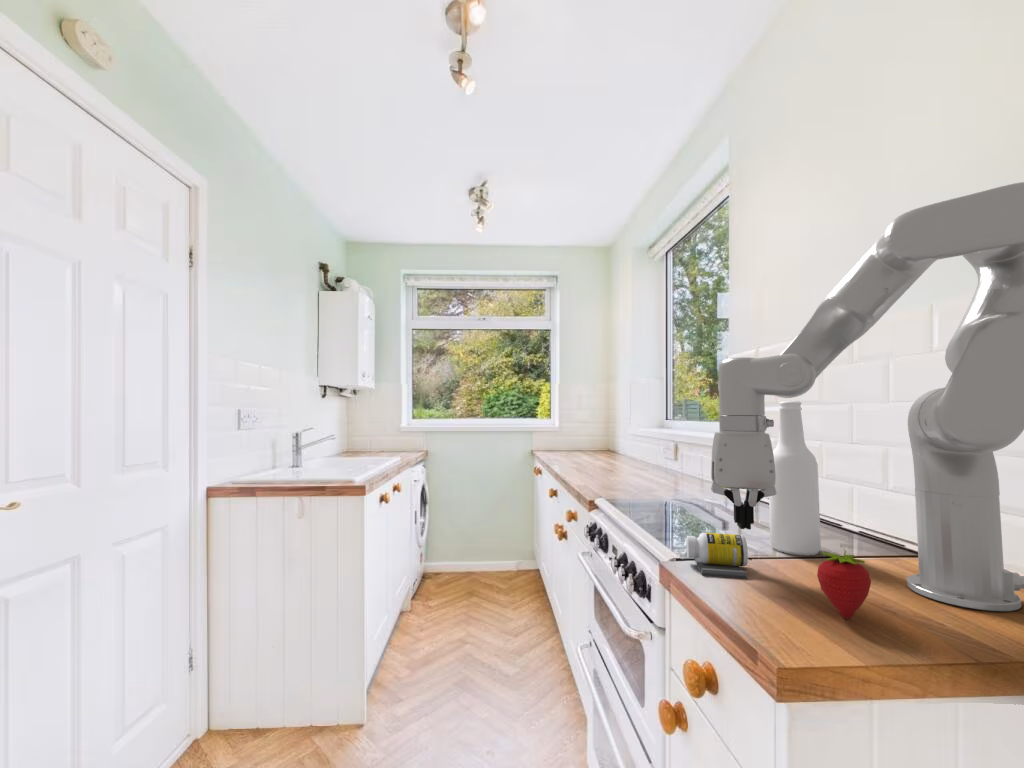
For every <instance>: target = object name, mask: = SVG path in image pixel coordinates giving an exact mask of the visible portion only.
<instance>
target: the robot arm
mask: <svg viewBox="0 0 1024 768" xmlns="http://www.w3.org/2000/svg"><path fill="white" fill-rule="evenodd" d="M961 256H962V257H963V258H964V259H965V260H966V261H967V262H968V263H969V264H970V265H971V267H972V268H973V269H974V271H975V273H976V274H977V275H976V276H977V285H976V290H975V291H974V294H973V297H972V298H971V302H970V304H969V305H968V308H967V309H966V312H965V313H964V316H963V317H962V319H961V321H960V322H959V325H958V327H957V329H956V330H955V332H954V333H953V335H952V337H951V339H950V341H949V342H948V344H947V346H946V349H945V355H944V359H945V361H944V362H945V364H946V366H947V368H948V370H949V371H950V372H951V373H952V374H950V378H949V379H948V381H947V383H946V384H945V386H944V387H940V388H935V389H932V390H929V391H927V392H925V393H924V394H922V395H921V396H919V397H918V398H917V399H916V400H914V402H913V404H911V406H910V409H909V411H908V417H907V429H908V430H907V431H908V437H909V442H910V448H911V454H912V461H913V463H912V464H913V472H914V473H913V474H914V475H913V476H914V498H915V519H916V535H917V540H916V541H917V557H918V558H917V559H918V560H917V561H918V573H915V574H910V575H908V576H907V578H906V585H907V587H908V588H910V590H911V591H913V592H915V593H916V594H919V595H920V596H923V597H926V598H929V599H932V600H934V601H938V602H941V603H945V604H949V605H953V606H957V607H962V608H966V609H967V608H968V609H972V610H973V609H974V610H981V611H990V612H1013V611H1017V610H1019V609H1021V608H1022V599H1021V597H1020V596H1019V595H1018V594H1016V593H1015V592H1019V591H1020V590H1021V589H1022V590H1023V589H1024V575H1020V573H1018V572H1013V571H1010V570H1007V569H1005V568H1004V566H1005V565H1004V550H1003V536H1002V533H1003V532H1002V520H1001V518H1002V517H1001V504H1000V494H1001V493H1000V492H1001V491H1000V481H999V479H1000V478H999V472H998V467H997V462H996V458H995V455H994V452H997V451H999V450H1002V449H1004V448H1006V447H1008V446H1010V445H1011V444H1013V443H1014V442H1015V441H1016V440H1017V439H1018V437H1020V435H1022V433H1023V432H1024V181H1022V182H1016V183H1011V184H1006V185H1002V186H999V187H994V188H990V189H986V190H982V191H979V192H976V193H971V194H967V195H964V196H963V195H962V196H958V197H954V198H951V199H947V200H943V201H939V202H935V203H932V204H928V205H924V206H920V207H918V208H915V209H912V210H910V211H907V212H904V213H902V214H900V215H899V216H897V217H896V218H894V219H893V220H892V221H891V222H890V223H889V224H888V225H887V227H886V228H885V230H884V231H883V232H882V234H881V235H880V236H879V237H878V238H877V240H876V241H875V242H874V243H873V244H872V246H871V247H870V248H869V249H868V250H867V251H866V253H864V254H863V255H862V256H861V258H860V259H859V260H858V261H857V263H855V264H854V266H853V267H851V269H850V270H849V271H848V272H847V273H846V274H845V276H844V277H843V278H841V279H840V281H839V282H838V283H837V284H836V285H835V286H834V288H833V289H831V291H830V292H829V293H828V294H827V295H826V296H825V298H823V300H822V301H821V302H820V304H819V305H818V307H816V310H815V311H814V313H813V314H812V316H811V318H809V320H808V322H807V323H806V324H805V325H804V327H803V328H802V329H801V331H800V332H799V333H798V334H797V335H796V336H795V337H794V339H793V340H792V341H791V342H790V343H789V344H788V345H787V347H786V348H785V349H784V350H783V351H782V352H781V353H780V354H777V355H772V356H771V355H770V356H766V357H765V356H764V357H758V358H757V357H743V356H742V357H732V358H730V357H729V358H726V359H723V360H721V362H719V365H718V370H717V371H718V406H719V407H718V413H719V414H718V415H719V416H718V417H719V418H718V420H719V423H718V424H719V431H718V432H714V434H713V441H712V451H711V464H710V465H711V468H710V469H711V470H710V473H711V475H710V476H711V481H712V484H711V487H710V490H711V492H712V493H713V494H717V495H719V496H723V497H726V498H727V499H728V500H729V501H730V502H731V503H733V520H734V521H733V522H734V523H735V524H737V525H736V526H737V527H738V528H739V529H741V530H745V529H747V530H751V529H752V525H754V523H755V516H754V515H755V514H754V513H755V510H754V508H755V507H756V506H757V504H758V503H759V502H760V501H761V500H763V498H769V496H774V495H776V494H777V492H776V489H775V483H776V473H775V463H774V455H773V450H774V449H773V445H772V440H771V437H770V436H771V435H770V434H769V433H766V431H767V428H773V427H774V425H775V423H774V422H775V421H774V419H769V418H767V416H766V415H765V414H766V412H765V411H766V410H765V409H766V408H765V396H775V397H778V398H783V399H791V398H792V399H793V398H797V397H799V396H803V395H804V394H806V393H807V392H809V390H811V389H812V387H813V386H814V385H815V381H816V379H817V378H818V377H819V376H820V375H821V374H822V373H823V372H824V371H825V370H826V368H828V366H829V365H830V364H831V363H832V362H833V361H834V360H835V359H836V358H837V357H838V356H839V355H840V354H842V353H843V352H844V351H845V350H846V349H847V348H848V347H849V346H851V345H852V344H853V343H855V342H856V341H857V340H859V339H860V338H862V336H864V335H865V334H866V333H867V332H868V331H869V330H870V329H871V328H872V327H873V326H875V325H876V324H877V322H879V320H881V318H882V317H883V316H884V315H885V314H886V313H887V312H888V311H889V310H890V308H892V306H893V305H894V304H896V302H897V301H898V300H900V298H902V296H903V295H904V294H905V293H906V292H907V291H908V290H909V289H910V288H911V287H912V285H914V283H916V282H917V280H918V279H919V278H920V277H921V276H922V275H923V274H924V273H925V272H926V271H927V270H928V269H929V268H930V267H931V266H932V265H933V264H934V263H935V262H936V261H938V260H943V259H949V258H950V259H951V258H954V257H961ZM741 490H746V491H745V499H744V501H742V498H741V497H742V496H741Z"/></svg>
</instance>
